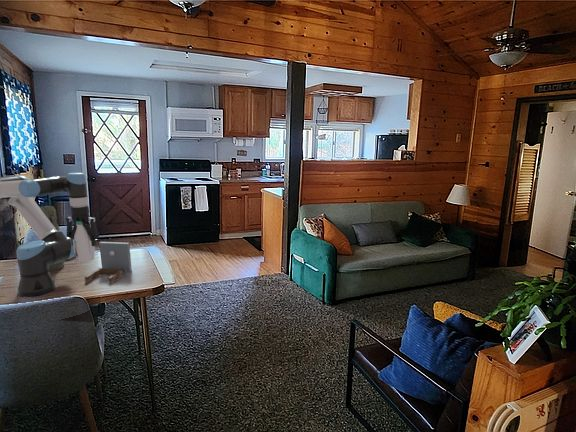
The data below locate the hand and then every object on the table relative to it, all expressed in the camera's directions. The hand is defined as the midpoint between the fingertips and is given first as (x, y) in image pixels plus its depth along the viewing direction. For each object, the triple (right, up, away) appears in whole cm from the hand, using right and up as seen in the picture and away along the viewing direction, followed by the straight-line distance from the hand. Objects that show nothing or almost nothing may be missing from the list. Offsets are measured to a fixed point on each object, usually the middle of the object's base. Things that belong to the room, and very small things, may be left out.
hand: (84, 251), depth 184 cm
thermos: (-32, -12, +30) cm, 45 cm away
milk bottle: (0, -4, +1) cm, 4 cm away
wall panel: (+4, -13, +24) cm, 28 cm away
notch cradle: (+3, -15, +13) cm, 21 cm away
